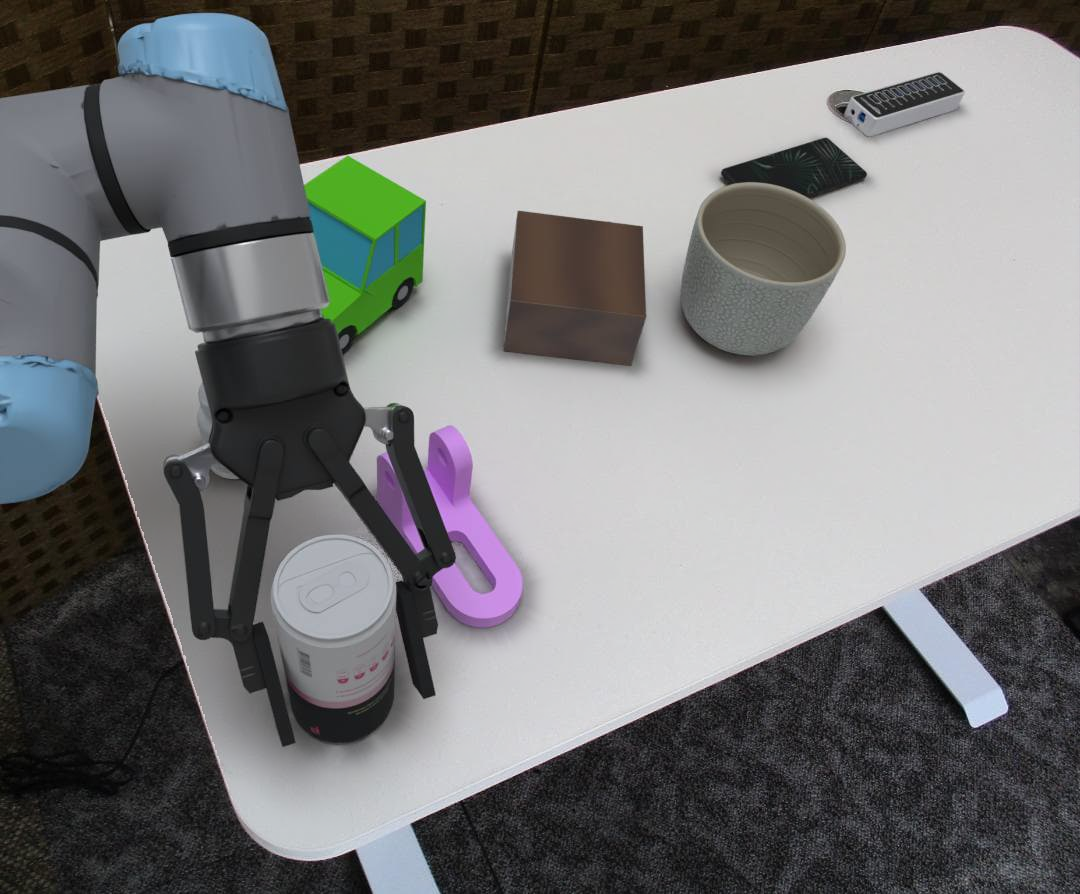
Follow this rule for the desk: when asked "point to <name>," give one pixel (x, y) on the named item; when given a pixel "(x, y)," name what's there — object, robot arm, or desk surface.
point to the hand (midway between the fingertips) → (356, 711)
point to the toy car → (365, 243)
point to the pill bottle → (205, 430)
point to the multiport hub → (903, 103)
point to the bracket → (456, 532)
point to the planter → (758, 266)
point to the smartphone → (800, 169)
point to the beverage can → (337, 635)
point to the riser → (575, 289)
